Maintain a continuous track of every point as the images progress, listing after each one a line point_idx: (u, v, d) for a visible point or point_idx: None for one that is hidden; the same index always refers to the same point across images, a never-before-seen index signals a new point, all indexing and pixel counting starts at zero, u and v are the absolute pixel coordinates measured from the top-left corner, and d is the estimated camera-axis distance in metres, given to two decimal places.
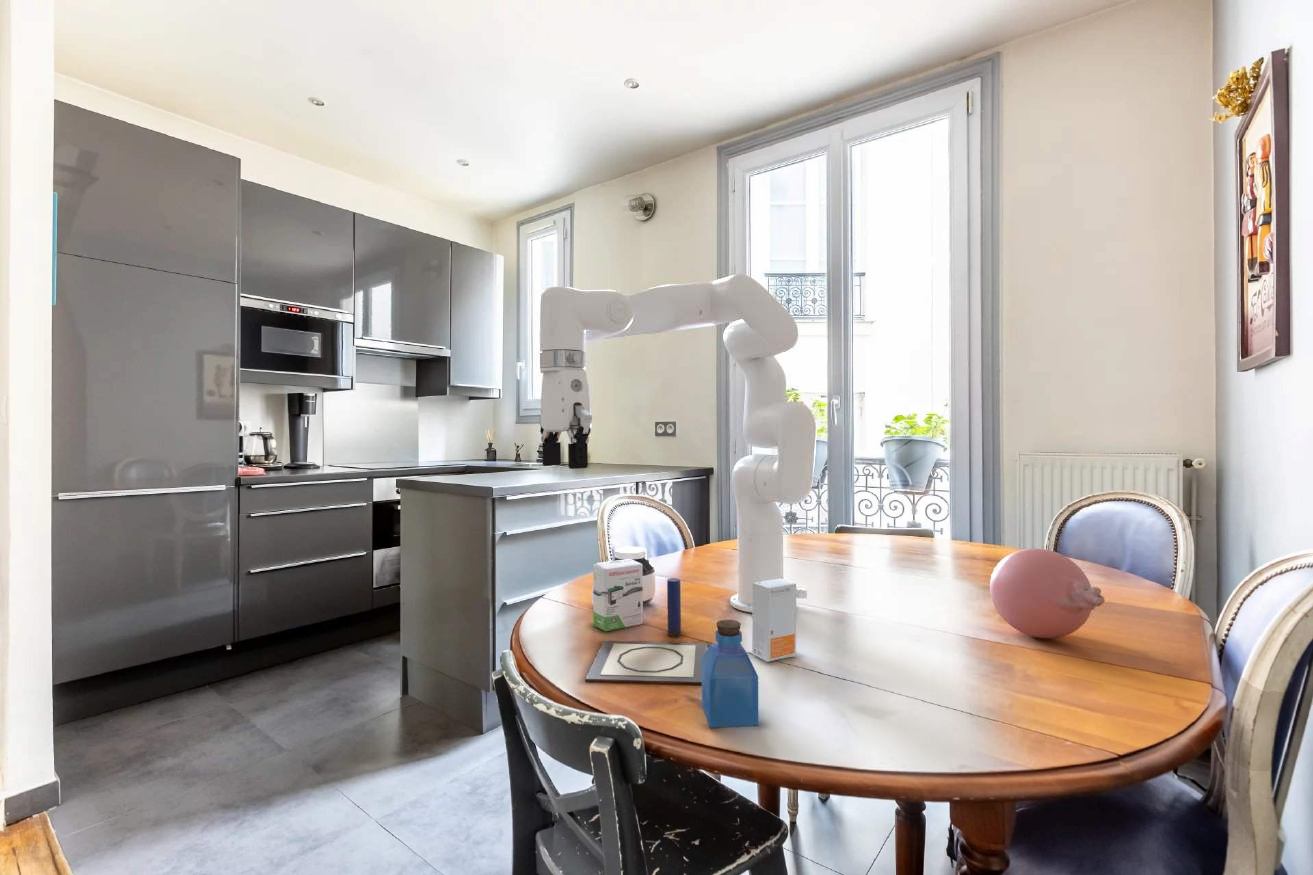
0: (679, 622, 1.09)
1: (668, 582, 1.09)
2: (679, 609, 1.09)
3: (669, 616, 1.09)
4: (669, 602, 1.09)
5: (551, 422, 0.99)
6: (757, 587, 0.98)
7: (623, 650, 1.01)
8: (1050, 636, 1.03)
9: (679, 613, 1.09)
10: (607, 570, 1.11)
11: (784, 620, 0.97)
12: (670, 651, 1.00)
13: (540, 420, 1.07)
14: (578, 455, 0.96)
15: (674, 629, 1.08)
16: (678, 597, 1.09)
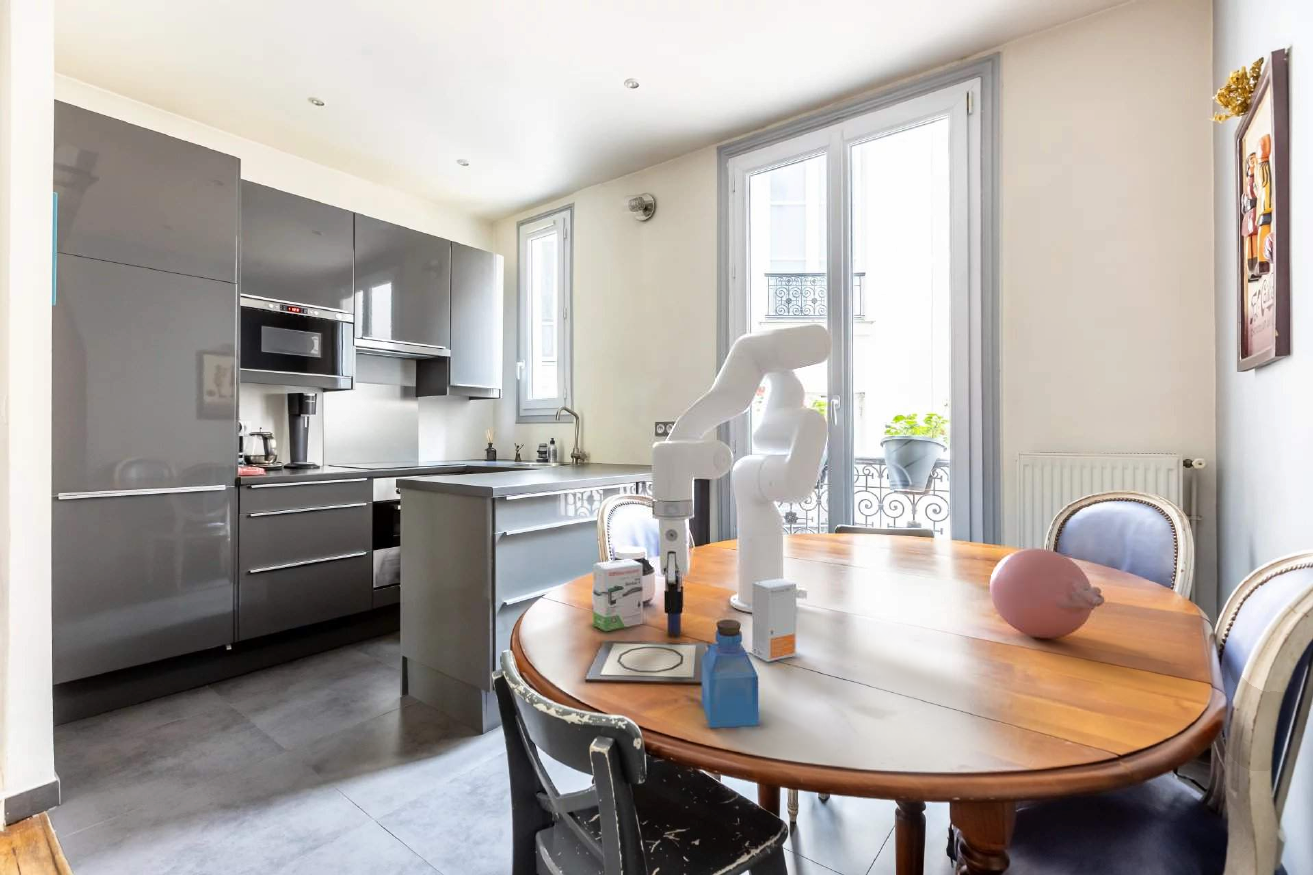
0: (679, 622, 1.09)
1: None
2: None
3: (669, 616, 1.09)
4: None
5: None
6: (757, 587, 0.98)
7: (623, 650, 1.01)
8: (1050, 636, 1.03)
9: None
10: (607, 570, 1.11)
11: (784, 620, 0.97)
12: (670, 651, 1.00)
13: None
14: (670, 602, 1.07)
15: (674, 629, 1.08)
16: None
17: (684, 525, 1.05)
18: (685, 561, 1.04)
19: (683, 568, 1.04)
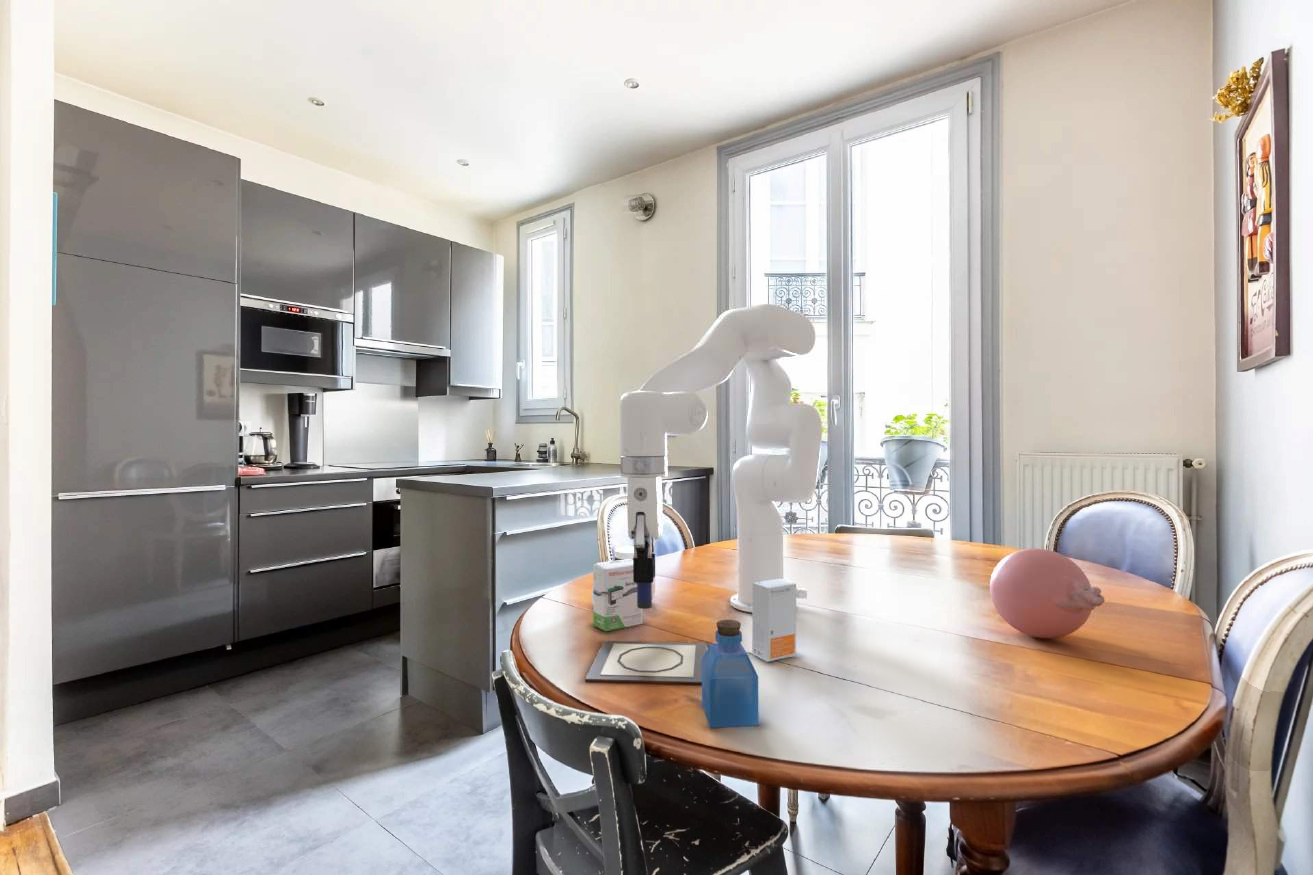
0: (650, 593, 0.98)
1: None
2: None
3: (638, 586, 0.98)
4: None
5: None
6: (757, 587, 0.98)
7: (623, 650, 1.01)
8: (1050, 636, 1.03)
9: (650, 583, 0.98)
10: (607, 570, 1.11)
11: (784, 620, 0.97)
12: (670, 651, 1.00)
13: None
14: (640, 570, 0.96)
15: (644, 600, 0.98)
16: None
17: (655, 483, 0.94)
18: (655, 523, 0.93)
19: (653, 531, 0.93)
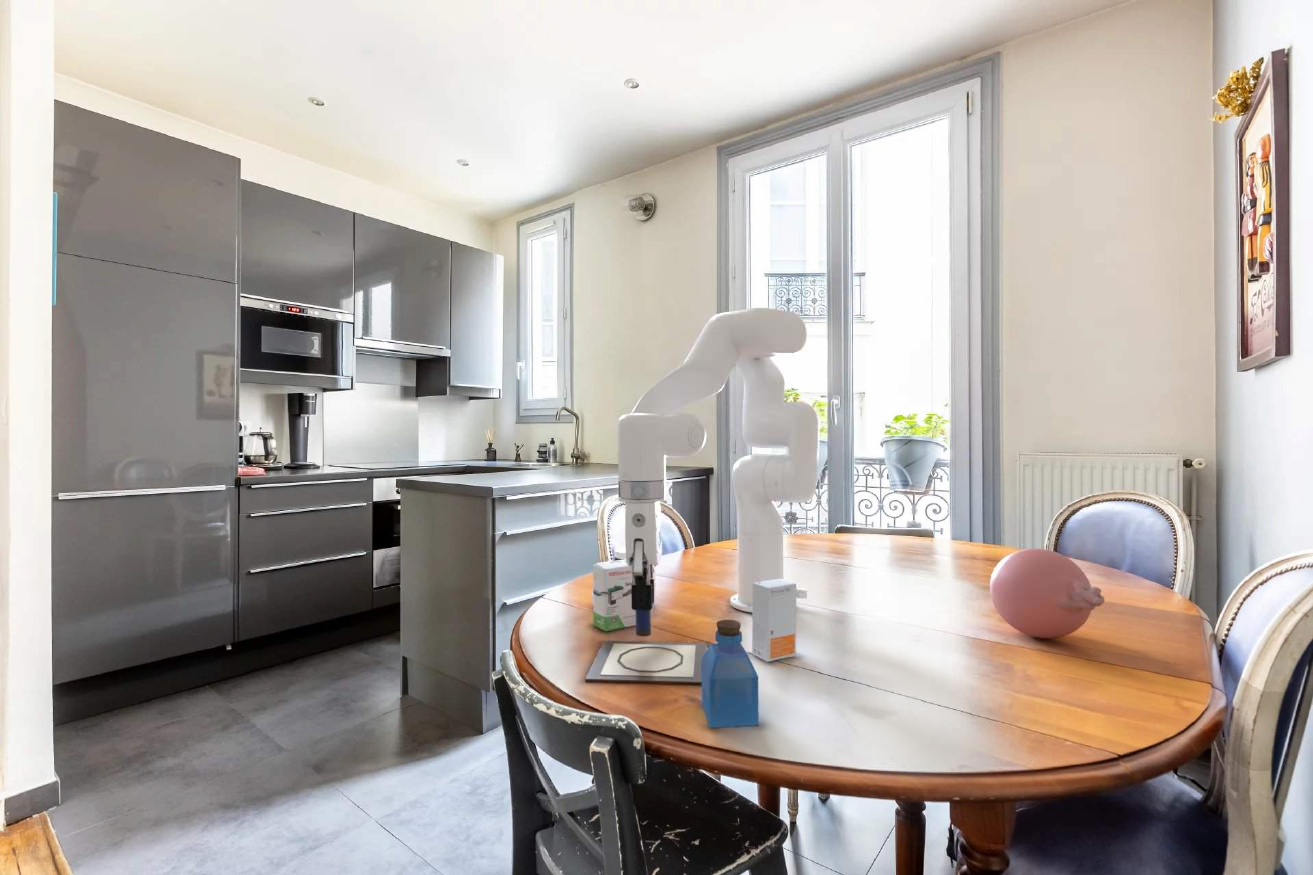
0: (648, 620, 0.96)
1: None
2: None
3: (637, 613, 0.95)
4: None
5: None
6: (757, 587, 0.98)
7: (623, 650, 1.01)
8: (1050, 636, 1.03)
9: (649, 610, 0.96)
10: (607, 570, 1.11)
11: (784, 620, 0.97)
12: (670, 651, 1.00)
13: None
14: (638, 597, 0.94)
15: (643, 628, 0.95)
16: None
17: (653, 509, 0.92)
18: (654, 550, 0.91)
19: (652, 558, 0.91)
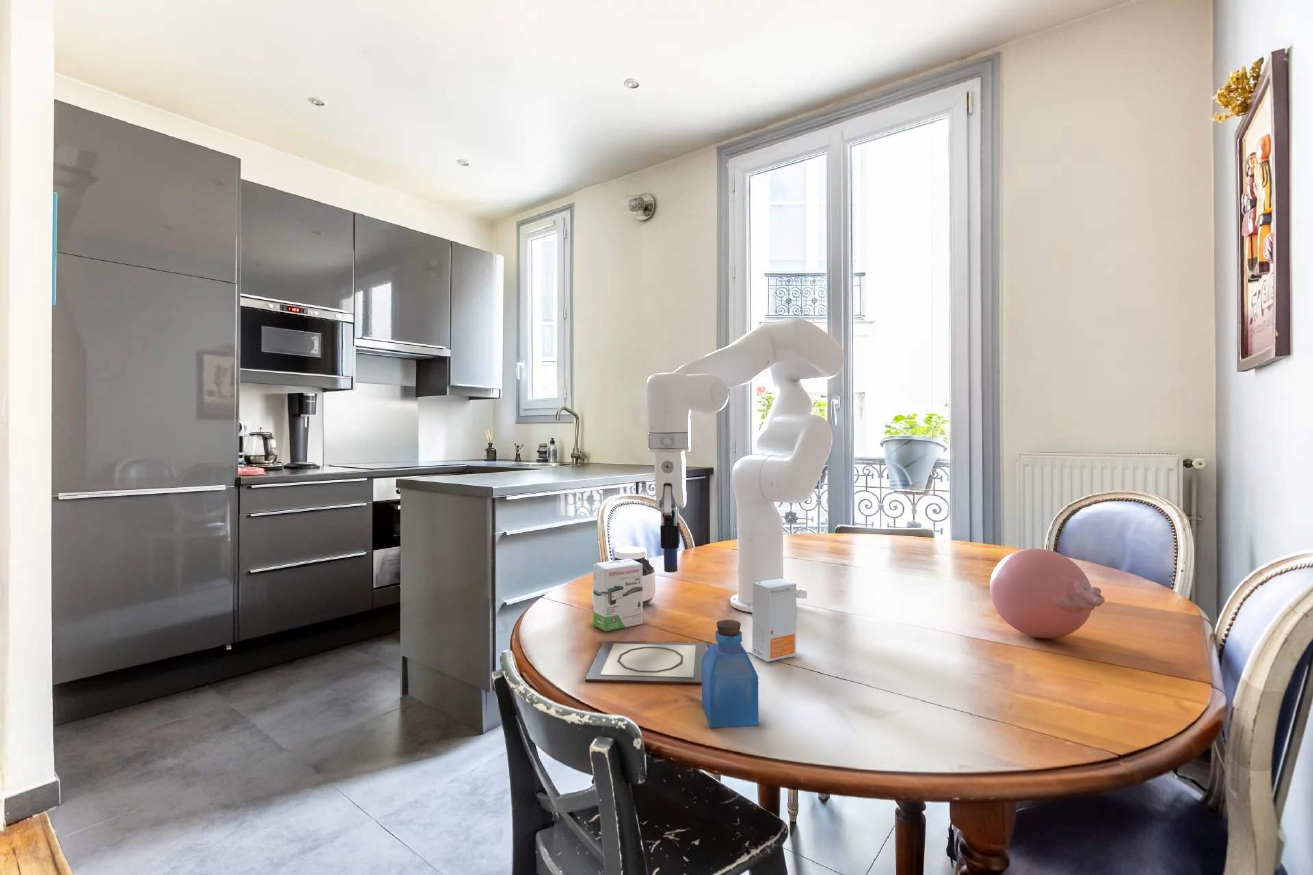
0: (675, 558, 1.07)
1: None
2: None
3: (665, 552, 1.07)
4: None
5: None
6: (757, 587, 0.98)
7: (623, 650, 1.01)
8: (1050, 636, 1.03)
9: (676, 549, 1.07)
10: (607, 570, 1.11)
11: (784, 620, 0.97)
12: (670, 651, 1.00)
13: None
14: (666, 537, 1.05)
15: (670, 565, 1.06)
16: None
17: (680, 457, 1.03)
18: (681, 493, 1.02)
19: (679, 500, 1.02)
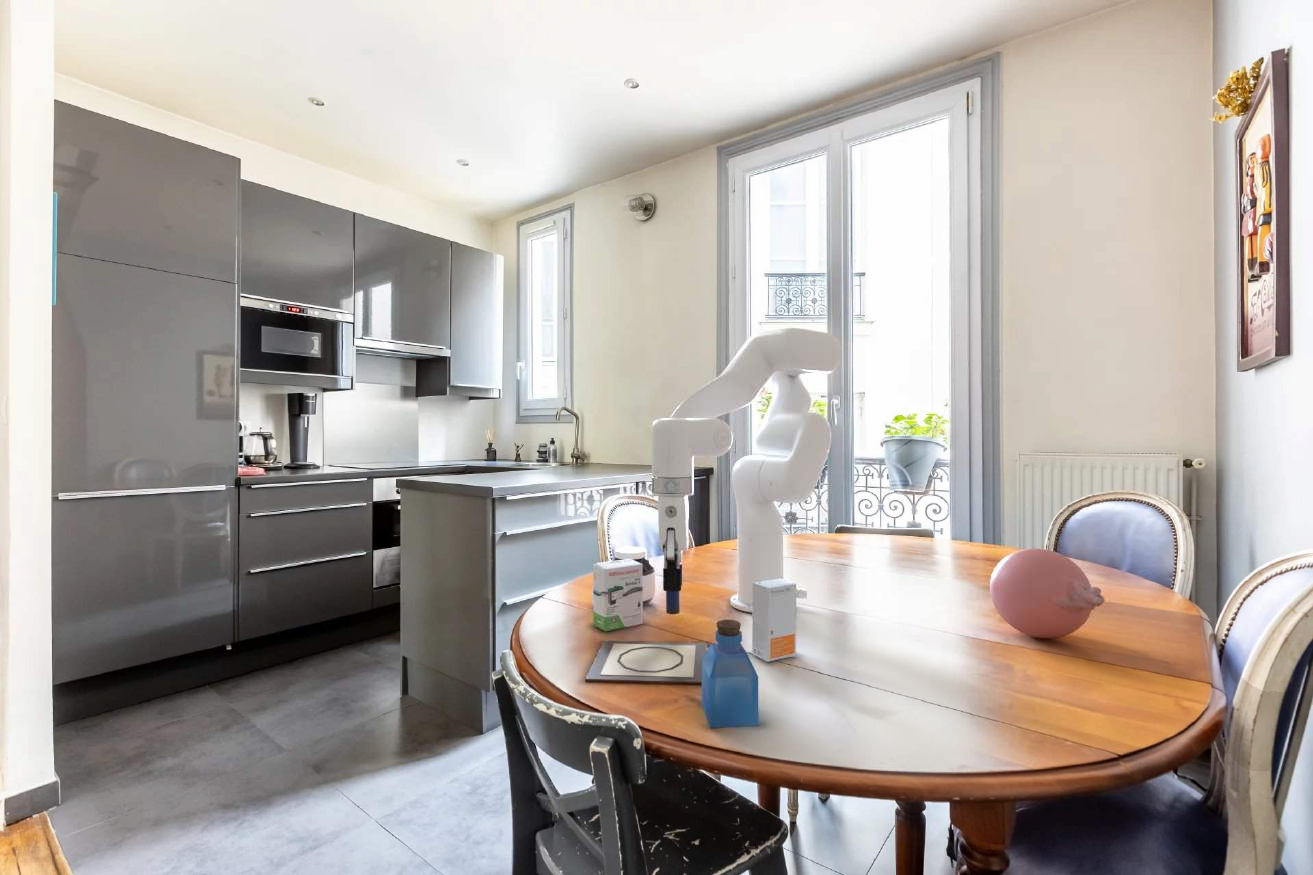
0: (678, 600, 1.09)
1: None
2: None
3: (668, 594, 1.08)
4: None
5: None
6: (757, 587, 0.98)
7: (623, 650, 1.01)
8: (1050, 636, 1.03)
9: (678, 591, 1.09)
10: (607, 570, 1.11)
11: (784, 620, 0.97)
12: (670, 651, 1.00)
13: None
14: (669, 580, 1.07)
15: (673, 607, 1.08)
16: None
17: (683, 502, 1.05)
18: (684, 538, 1.04)
19: (682, 545, 1.04)
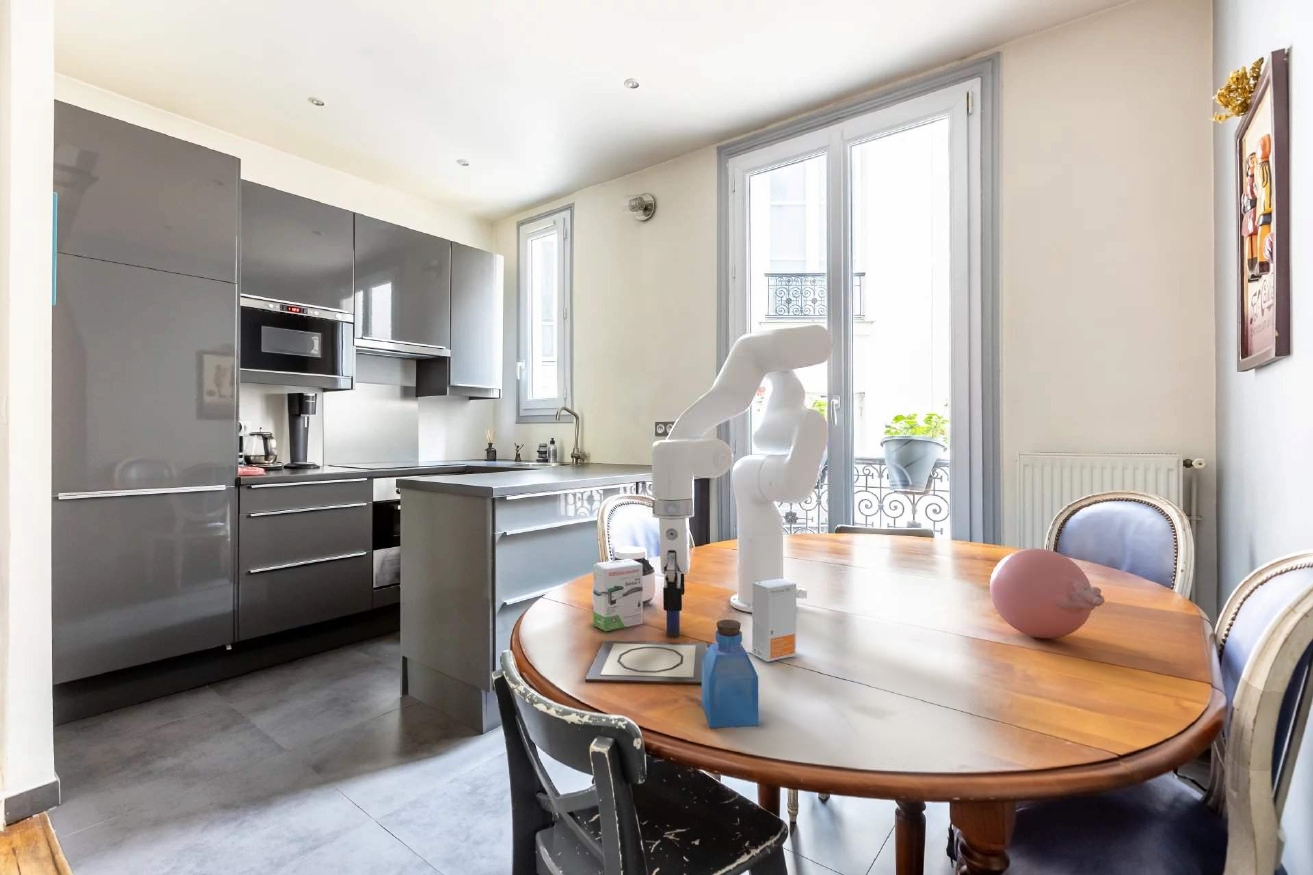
0: (678, 622, 1.09)
1: None
2: None
3: (668, 616, 1.09)
4: None
5: None
6: (757, 587, 0.98)
7: (623, 650, 1.01)
8: (1050, 636, 1.03)
9: (678, 614, 1.09)
10: (607, 570, 1.11)
11: (784, 620, 0.97)
12: (670, 651, 1.00)
13: None
14: (669, 599, 1.04)
15: (673, 629, 1.08)
16: None
17: (684, 524, 1.05)
18: (685, 560, 1.04)
19: (683, 567, 1.04)
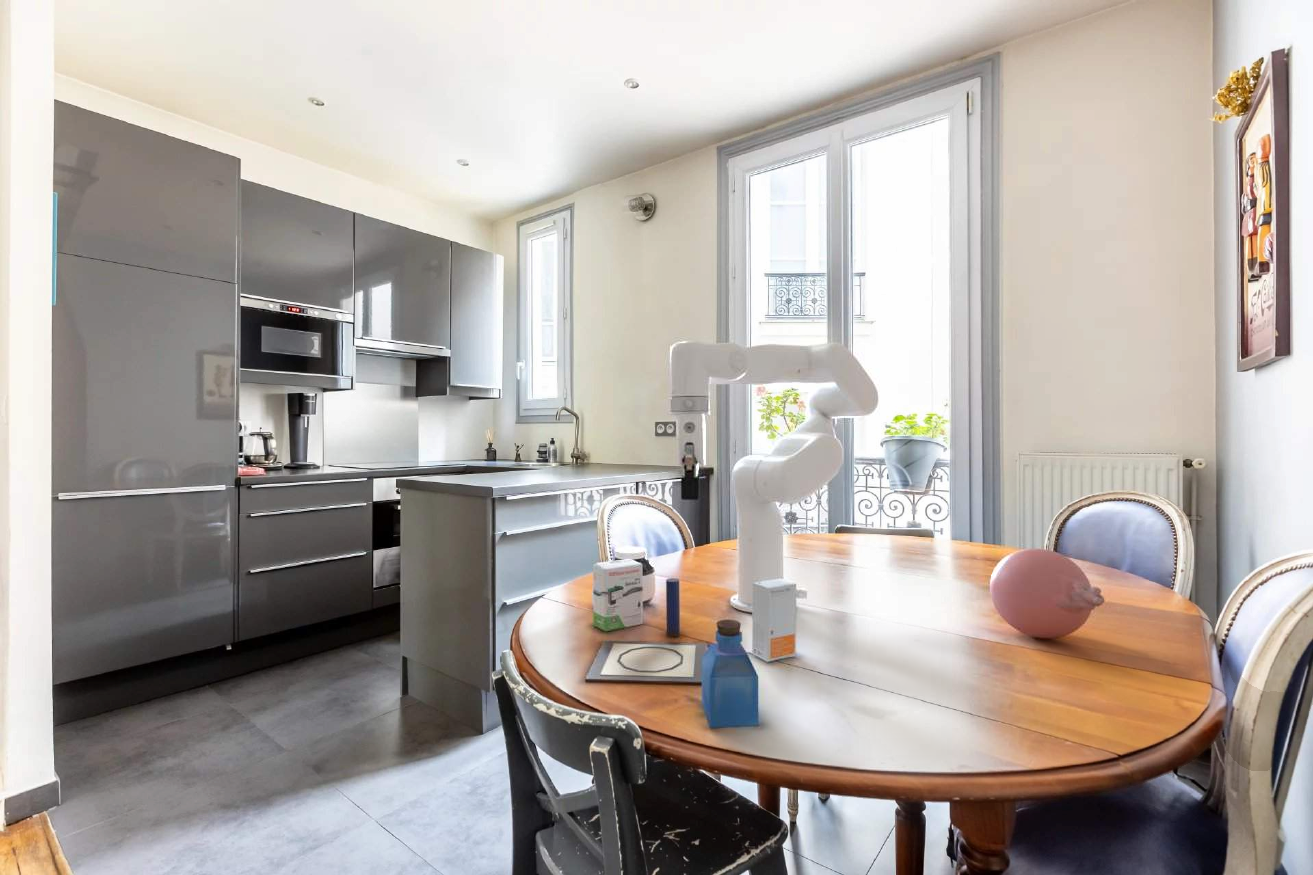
0: (678, 622, 1.09)
1: (667, 582, 1.09)
2: (678, 609, 1.09)
3: (668, 616, 1.09)
4: (668, 602, 1.08)
5: None
6: (757, 587, 0.98)
7: (623, 650, 1.01)
8: (1050, 636, 1.03)
9: (678, 614, 1.09)
10: (607, 570, 1.11)
11: (784, 620, 0.97)
12: (670, 651, 1.00)
13: None
14: (687, 488, 1.10)
15: (673, 629, 1.08)
16: (677, 597, 1.08)
17: (701, 418, 1.11)
18: (702, 451, 1.11)
19: (700, 458, 1.11)
